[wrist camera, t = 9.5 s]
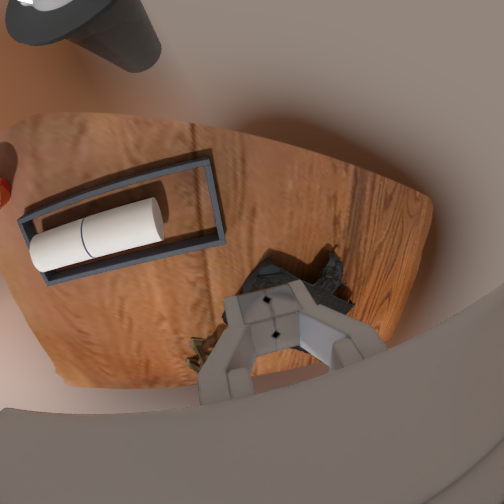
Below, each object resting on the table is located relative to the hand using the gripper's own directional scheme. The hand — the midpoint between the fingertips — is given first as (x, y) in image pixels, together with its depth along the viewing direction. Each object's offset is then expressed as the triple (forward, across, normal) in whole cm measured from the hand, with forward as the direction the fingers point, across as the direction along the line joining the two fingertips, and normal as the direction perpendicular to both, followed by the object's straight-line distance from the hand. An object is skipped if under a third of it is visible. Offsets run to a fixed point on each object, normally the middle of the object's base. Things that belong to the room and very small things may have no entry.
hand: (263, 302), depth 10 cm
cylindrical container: (+34, +10, +8) cm, 36 cm away
